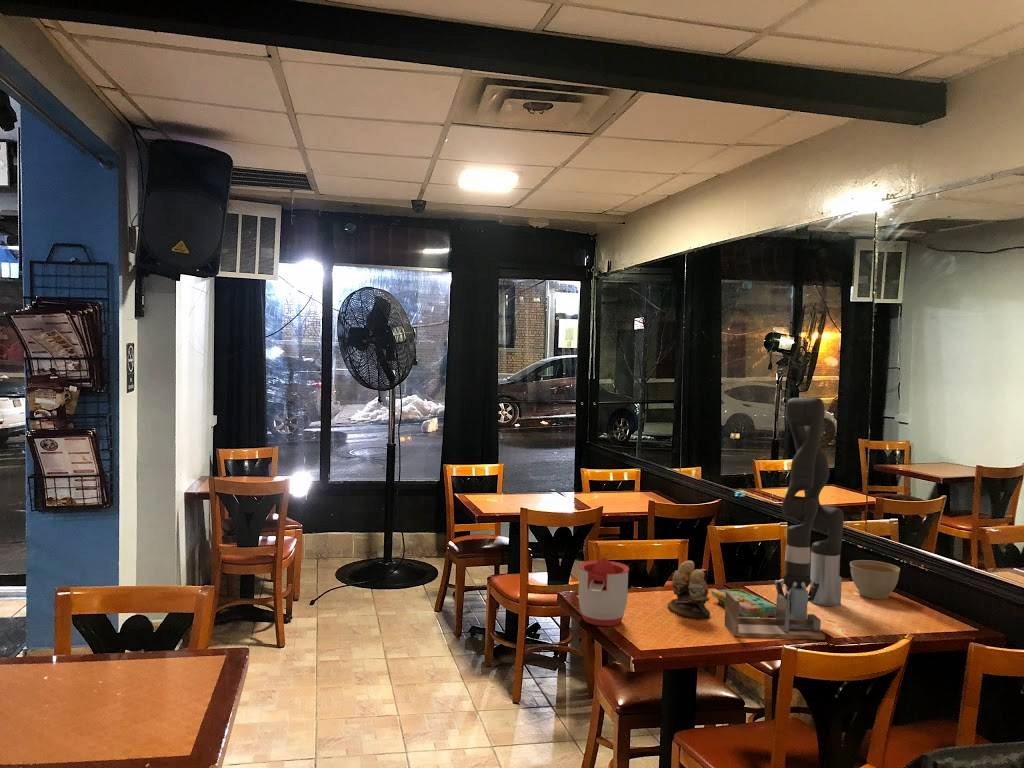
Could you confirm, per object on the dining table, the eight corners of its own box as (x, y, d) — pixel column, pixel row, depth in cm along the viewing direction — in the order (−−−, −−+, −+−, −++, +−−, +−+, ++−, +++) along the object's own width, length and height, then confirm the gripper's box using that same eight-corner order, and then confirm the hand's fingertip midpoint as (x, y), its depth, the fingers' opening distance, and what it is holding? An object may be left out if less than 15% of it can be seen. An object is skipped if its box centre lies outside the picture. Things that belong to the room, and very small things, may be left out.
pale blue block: (796, 617, 243) (798, 583, 243) (806, 626, 235) (807, 591, 235) (784, 617, 243) (785, 583, 243) (793, 625, 235) (795, 590, 235)
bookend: (811, 624, 232) (812, 595, 232) (821, 632, 225) (823, 602, 225) (775, 623, 232) (776, 594, 232) (784, 631, 225) (785, 601, 225)
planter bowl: (843, 588, 280) (844, 558, 280) (889, 591, 278) (890, 561, 277) (856, 600, 264) (858, 570, 264) (905, 604, 262) (907, 573, 262)
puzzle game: (745, 606, 239) (711, 588, 259) (744, 620, 239) (711, 601, 259) (777, 604, 243) (741, 586, 262) (776, 618, 243) (741, 599, 262)
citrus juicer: (568, 626, 228) (570, 560, 228) (584, 610, 244) (586, 548, 244) (619, 634, 222) (621, 567, 222) (632, 617, 238) (634, 554, 238)
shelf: (811, 627, 234) (813, 593, 233) (825, 639, 224) (826, 603, 223) (724, 625, 234) (725, 591, 233) (734, 636, 224) (735, 601, 223)
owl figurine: (721, 619, 239) (723, 566, 239) (689, 623, 235) (691, 569, 235) (689, 602, 256) (690, 552, 256) (658, 605, 252) (660, 554, 251)
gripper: (815, 557, 243) (813, 610, 243) (771, 555, 243) (769, 608, 243) (825, 563, 235) (822, 617, 235) (779, 561, 235) (777, 616, 235)
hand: (795, 613), depth 239 cm, fingers closed on pale blue block, 4 cm apart
